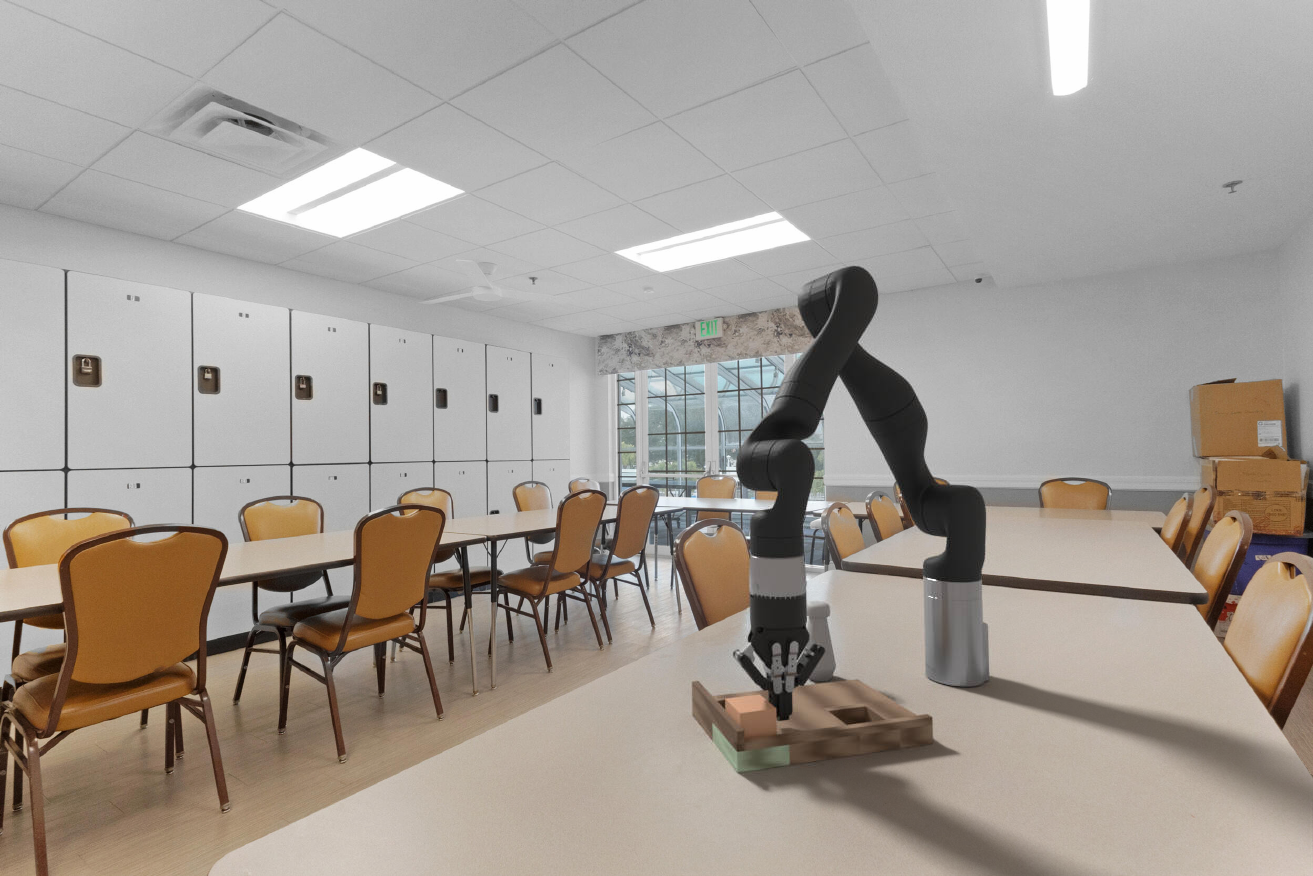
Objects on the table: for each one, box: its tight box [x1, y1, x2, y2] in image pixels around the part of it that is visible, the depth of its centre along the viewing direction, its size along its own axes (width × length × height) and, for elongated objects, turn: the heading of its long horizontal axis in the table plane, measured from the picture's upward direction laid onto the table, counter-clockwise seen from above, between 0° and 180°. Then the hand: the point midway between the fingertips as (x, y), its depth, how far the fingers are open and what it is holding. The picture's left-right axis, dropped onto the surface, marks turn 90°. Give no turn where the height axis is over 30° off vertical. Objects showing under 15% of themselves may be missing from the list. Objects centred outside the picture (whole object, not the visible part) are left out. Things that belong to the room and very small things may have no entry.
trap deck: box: [691, 678, 934, 773], centre depth 90 cm, size 28×18×5 cm, turn 105°
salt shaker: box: [806, 600, 837, 682], centre depth 111 cm, size 6×6×13 cm
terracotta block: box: [725, 694, 777, 739], centre depth 83 cm, size 5×5×4 cm
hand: (780, 718), depth 85 cm, fingers closed
